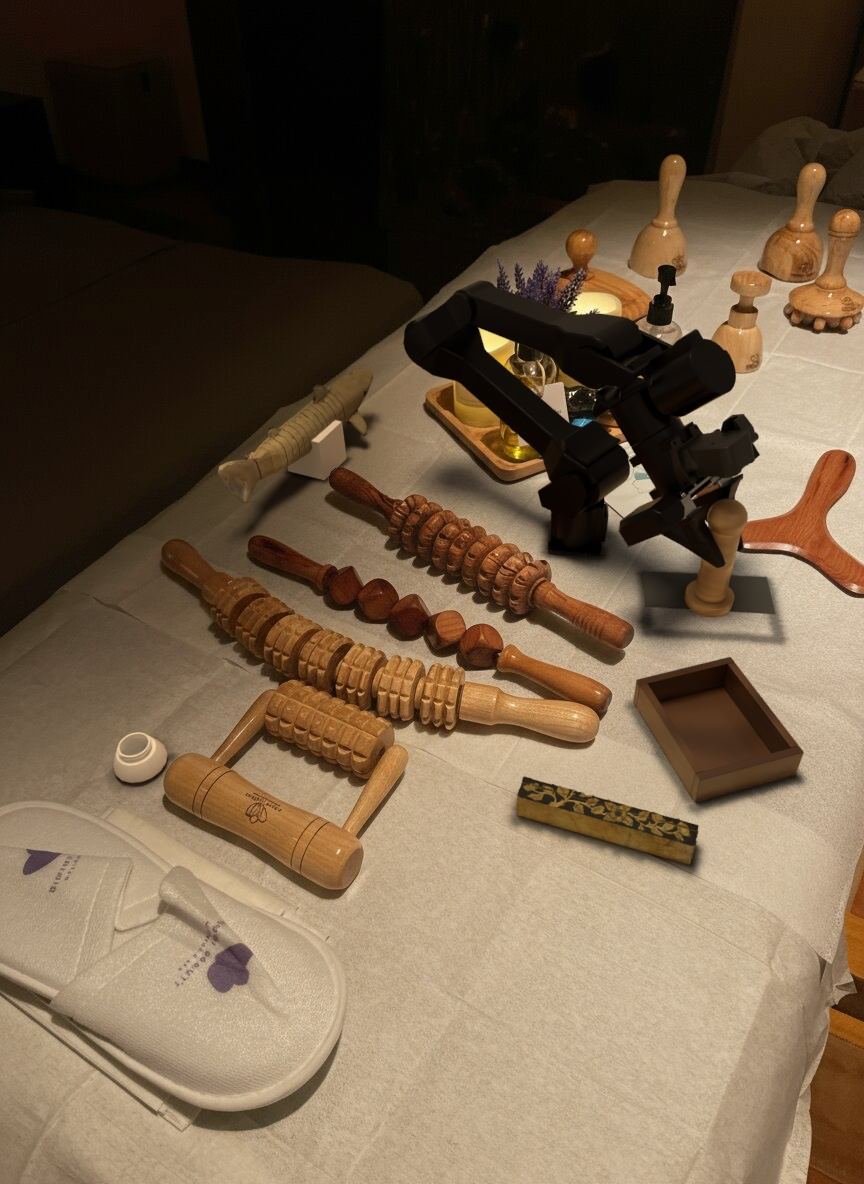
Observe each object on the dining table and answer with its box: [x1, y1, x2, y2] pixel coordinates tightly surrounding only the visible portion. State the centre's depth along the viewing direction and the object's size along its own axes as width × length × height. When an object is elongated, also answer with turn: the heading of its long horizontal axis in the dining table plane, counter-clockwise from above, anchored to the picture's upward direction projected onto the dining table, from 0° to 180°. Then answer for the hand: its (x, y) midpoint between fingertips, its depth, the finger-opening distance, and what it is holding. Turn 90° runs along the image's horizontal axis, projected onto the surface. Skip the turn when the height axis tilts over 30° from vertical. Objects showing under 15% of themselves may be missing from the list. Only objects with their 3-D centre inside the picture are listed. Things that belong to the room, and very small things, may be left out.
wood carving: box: [217, 367, 374, 504], centre depth 119 cm, size 9×35×11 cm, turn 153°
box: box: [632, 656, 805, 803], centre depth 82 cm, size 13×10×4 cm
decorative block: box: [516, 775, 700, 866], centre depth 75 cm, size 15×2×4 cm, turn 69°
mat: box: [642, 570, 776, 615], centre depth 98 cm, size 14×10×1 cm
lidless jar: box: [112, 731, 169, 784], centre depth 83 cm, size 5×3×5 cm
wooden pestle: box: [684, 498, 749, 618], centre depth 93 cm, size 5×5×14 cm
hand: (730, 558), depth 92 cm, fingers closed on wooden pestle, 3 cm apart
